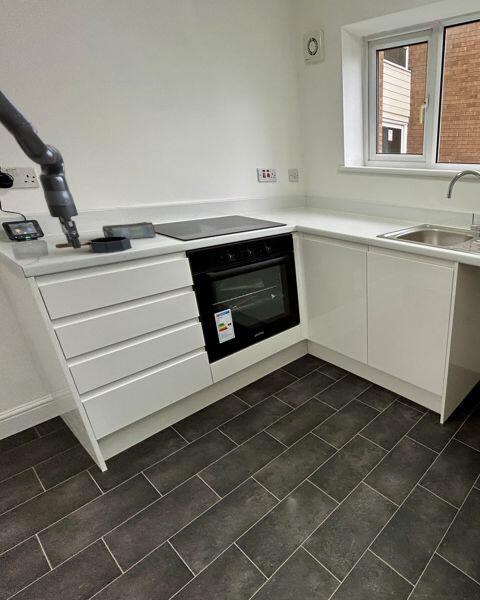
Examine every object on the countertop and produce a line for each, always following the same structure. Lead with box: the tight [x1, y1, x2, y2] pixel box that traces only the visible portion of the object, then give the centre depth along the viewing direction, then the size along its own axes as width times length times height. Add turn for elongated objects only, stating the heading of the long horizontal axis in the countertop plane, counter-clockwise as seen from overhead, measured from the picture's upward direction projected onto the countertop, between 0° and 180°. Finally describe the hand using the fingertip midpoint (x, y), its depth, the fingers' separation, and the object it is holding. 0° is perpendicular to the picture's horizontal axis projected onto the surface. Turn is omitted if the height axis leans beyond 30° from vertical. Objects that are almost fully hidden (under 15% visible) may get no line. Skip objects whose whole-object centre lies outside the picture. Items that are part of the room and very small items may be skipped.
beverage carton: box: [102, 221, 156, 240], centre depth 162 cm, size 8×19×7 cm, turn 127°
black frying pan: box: [54, 236, 132, 254], centre depth 139 cm, size 22×13×4 cm, turn 140°
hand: (75, 246), depth 134 cm, fingers open, 8 cm apart
